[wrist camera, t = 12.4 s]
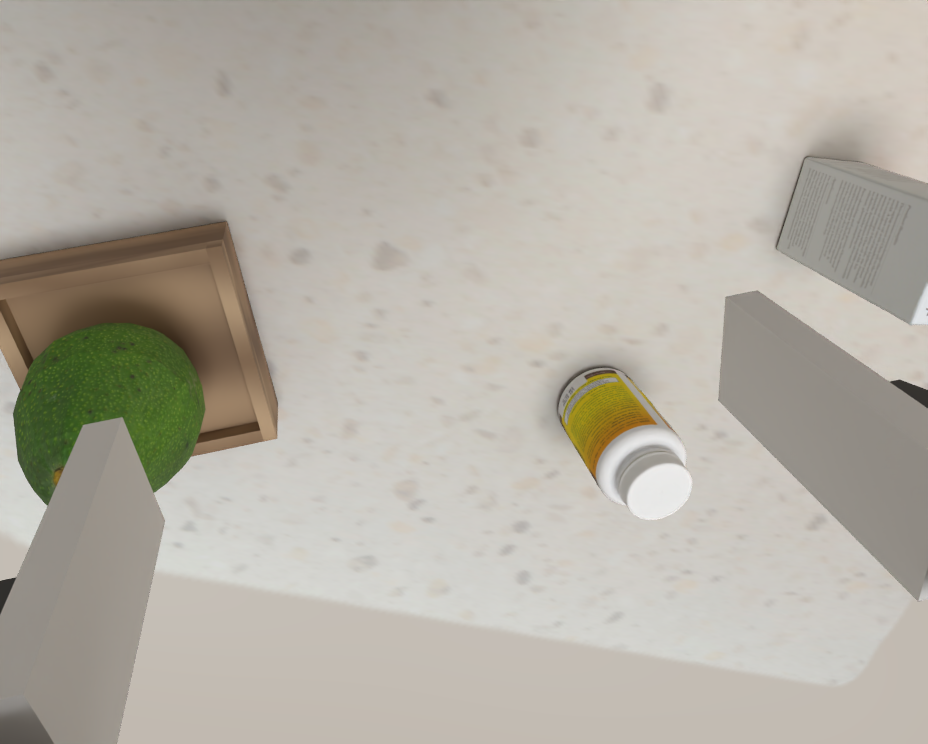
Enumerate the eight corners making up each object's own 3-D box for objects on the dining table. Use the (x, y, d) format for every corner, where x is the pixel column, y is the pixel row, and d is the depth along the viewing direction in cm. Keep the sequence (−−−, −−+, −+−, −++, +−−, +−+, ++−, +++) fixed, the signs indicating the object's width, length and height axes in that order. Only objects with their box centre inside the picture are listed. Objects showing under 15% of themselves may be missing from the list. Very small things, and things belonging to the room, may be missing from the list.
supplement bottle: (539, 418, 50) (594, 515, 41) (585, 351, 48) (652, 437, 39) (603, 445, 52) (667, 542, 43) (649, 382, 50) (725, 470, 42)
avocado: (192, 282, 38) (157, 401, 27) (226, 412, 42) (207, 559, 31) (24, 305, 37) (-78, 438, 26) (76, 436, 40) (4, 598, 30)
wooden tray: (0, 259, 38) (-28, 289, 35) (226, 221, 40) (221, 245, 36) (82, 442, 44) (65, 482, 40) (277, 402, 45) (277, 438, 42)
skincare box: (830, 252, 49) (976, 330, 38) (773, 249, 48) (907, 328, 37) (864, 158, 46) (1031, 214, 36) (804, 152, 45) (959, 209, 34)
